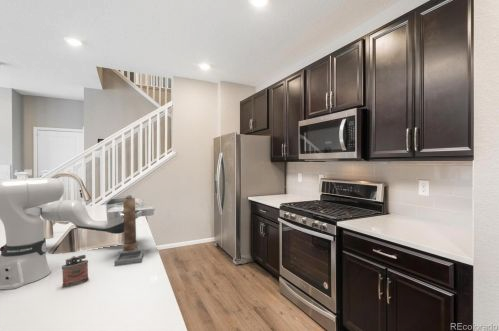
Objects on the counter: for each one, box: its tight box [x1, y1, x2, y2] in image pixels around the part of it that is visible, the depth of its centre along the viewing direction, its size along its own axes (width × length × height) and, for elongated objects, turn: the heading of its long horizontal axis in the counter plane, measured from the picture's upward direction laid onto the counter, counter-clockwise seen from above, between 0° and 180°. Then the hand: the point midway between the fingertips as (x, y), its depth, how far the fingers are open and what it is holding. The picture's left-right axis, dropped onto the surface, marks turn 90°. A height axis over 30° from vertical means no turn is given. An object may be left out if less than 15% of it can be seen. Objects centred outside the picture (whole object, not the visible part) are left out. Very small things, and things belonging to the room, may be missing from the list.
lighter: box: [61, 254, 90, 289], centre depth 93 cm, size 8×3×10 cm, turn 131°
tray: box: [113, 249, 144, 267], centre depth 114 cm, size 11×11×2 cm
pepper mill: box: [123, 194, 138, 252], centre depth 114 cm, size 6×6×25 cm
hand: (129, 215), depth 113 cm, fingers closed on pepper mill, 5 cm apart
